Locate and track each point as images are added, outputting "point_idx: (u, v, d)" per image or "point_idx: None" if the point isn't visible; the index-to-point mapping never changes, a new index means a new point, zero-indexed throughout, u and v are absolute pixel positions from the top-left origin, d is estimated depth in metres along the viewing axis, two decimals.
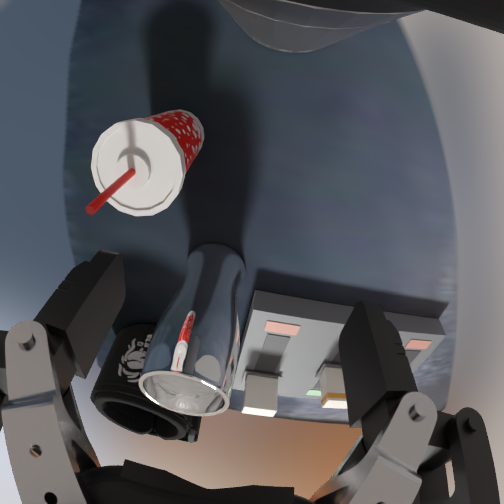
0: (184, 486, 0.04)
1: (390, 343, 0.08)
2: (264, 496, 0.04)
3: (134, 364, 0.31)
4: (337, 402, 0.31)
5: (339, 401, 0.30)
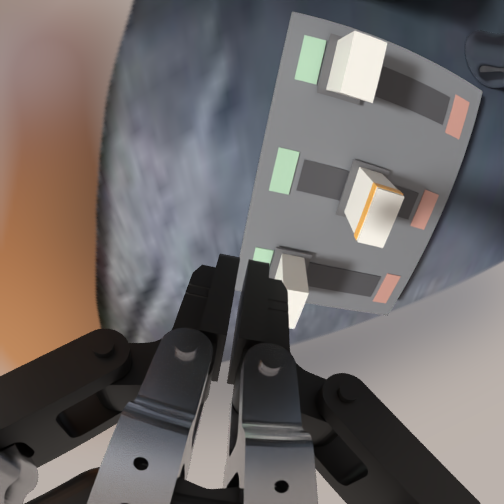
0: (183, 486, 0.04)
1: (263, 296, 0.08)
2: None
3: None
4: (391, 213, 0.18)
5: (394, 215, 0.18)
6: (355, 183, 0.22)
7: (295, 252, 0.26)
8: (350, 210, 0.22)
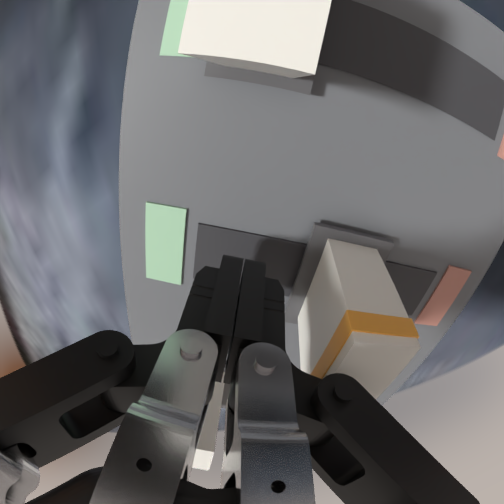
0: (183, 486, 0.04)
1: (259, 296, 0.08)
2: None
3: None
4: (381, 377, 0.07)
5: (389, 379, 0.07)
6: (318, 273, 0.11)
7: None
8: (304, 327, 0.11)
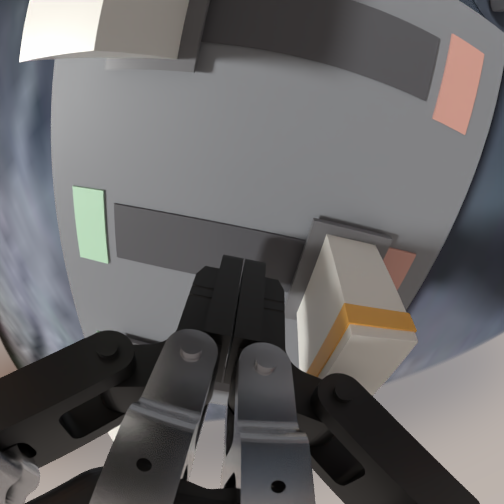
0: (184, 487, 0.04)
1: (259, 296, 0.08)
2: None
3: None
4: (379, 371, 0.07)
5: (387, 373, 0.07)
6: (316, 269, 0.11)
7: None
8: (303, 322, 0.11)
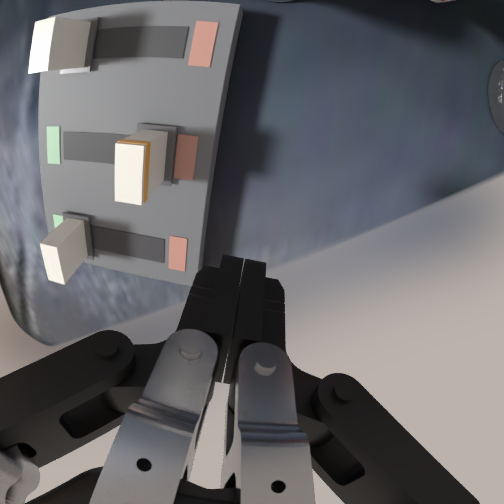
0: (184, 487, 0.04)
1: (259, 296, 0.08)
2: None
3: None
4: (135, 166, 0.17)
5: (139, 168, 0.17)
6: None
7: (75, 215, 0.24)
8: None
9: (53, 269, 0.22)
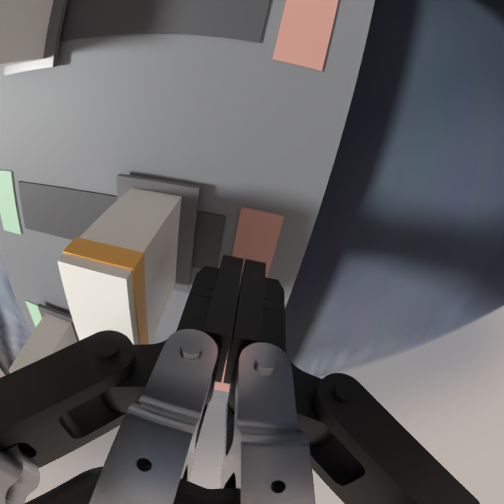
0: (183, 486, 0.04)
1: (259, 296, 0.08)
2: None
3: None
4: (114, 315, 0.07)
5: (124, 320, 0.07)
6: None
7: (58, 314, 0.15)
8: None
9: None
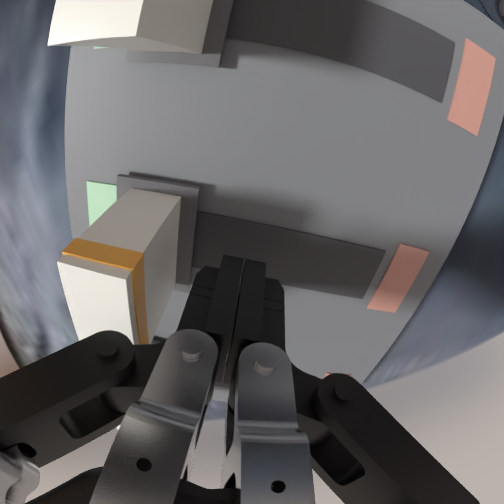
0: (184, 487, 0.04)
1: (259, 296, 0.08)
2: None
3: None
4: (114, 316, 0.07)
5: (124, 321, 0.07)
6: None
7: None
8: None
9: None
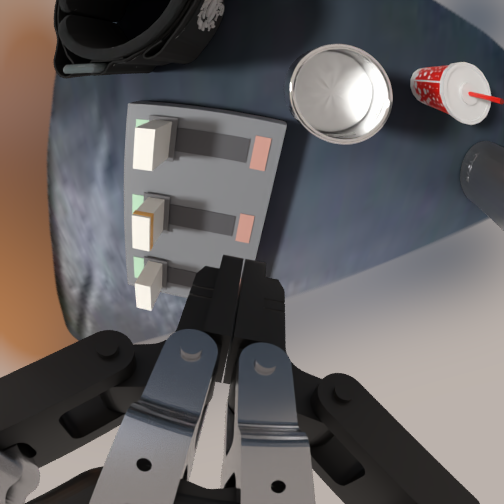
0: (184, 487, 0.04)
1: (259, 296, 0.08)
2: None
3: None
4: (145, 229, 0.29)
5: (147, 230, 0.29)
6: None
7: (156, 260, 0.37)
8: None
9: (143, 300, 0.35)
